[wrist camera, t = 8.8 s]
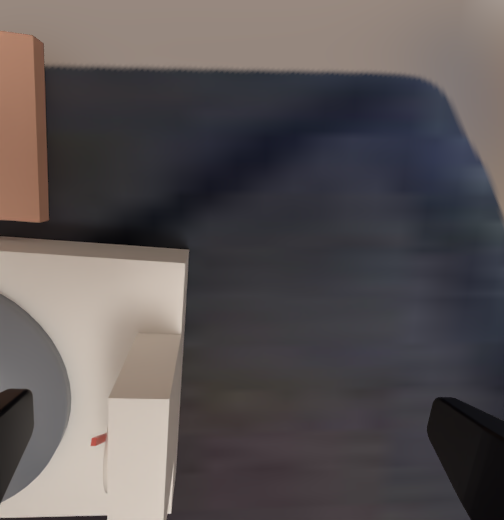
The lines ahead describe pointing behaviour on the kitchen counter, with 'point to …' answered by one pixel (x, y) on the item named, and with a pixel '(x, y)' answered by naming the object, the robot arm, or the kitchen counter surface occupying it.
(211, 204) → the kitchen counter surface
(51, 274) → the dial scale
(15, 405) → the robot arm
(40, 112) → the rubber mat
